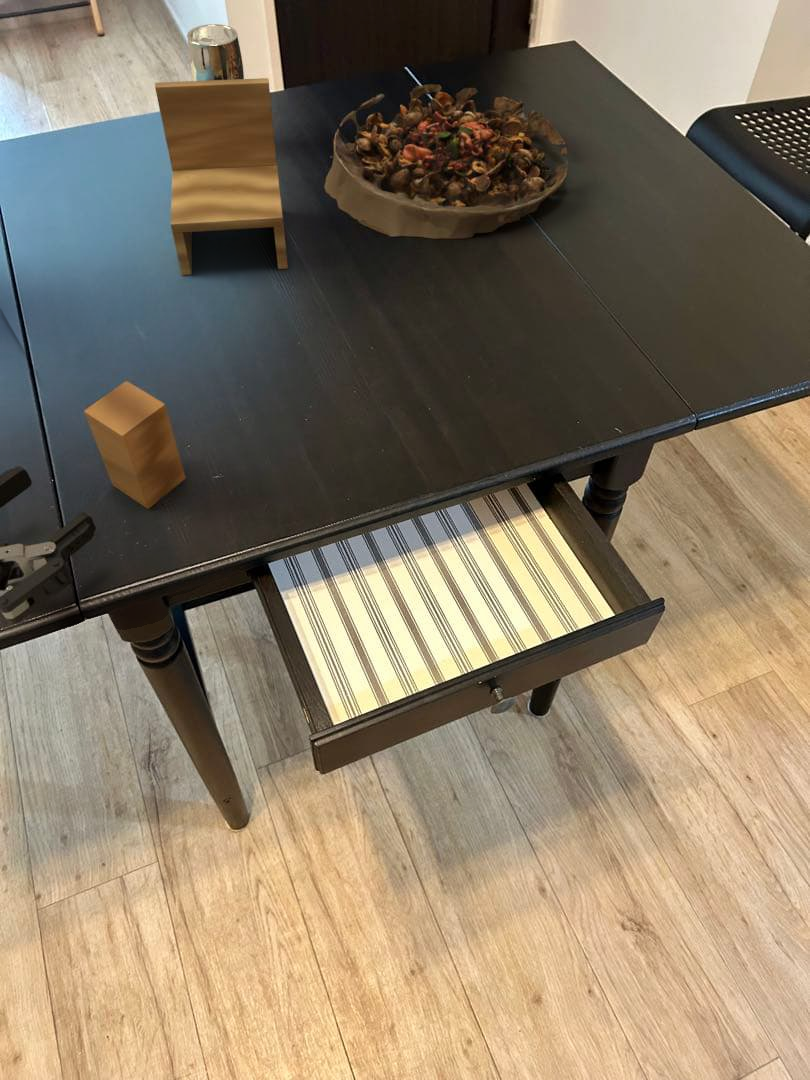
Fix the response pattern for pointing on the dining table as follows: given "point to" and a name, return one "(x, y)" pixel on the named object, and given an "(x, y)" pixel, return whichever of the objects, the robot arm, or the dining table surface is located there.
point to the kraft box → (136, 443)
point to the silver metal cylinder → (215, 53)
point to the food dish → (443, 167)
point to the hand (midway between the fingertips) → (57, 496)
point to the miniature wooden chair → (221, 160)
